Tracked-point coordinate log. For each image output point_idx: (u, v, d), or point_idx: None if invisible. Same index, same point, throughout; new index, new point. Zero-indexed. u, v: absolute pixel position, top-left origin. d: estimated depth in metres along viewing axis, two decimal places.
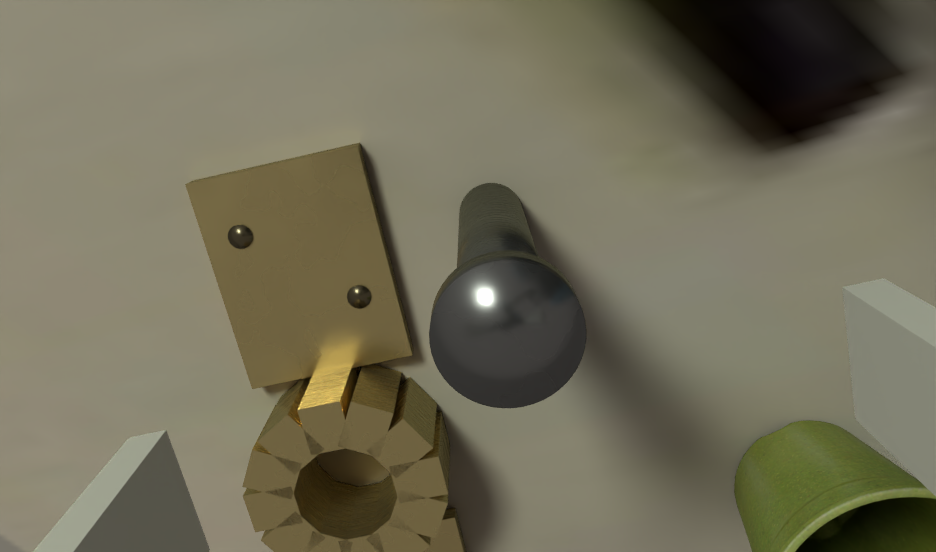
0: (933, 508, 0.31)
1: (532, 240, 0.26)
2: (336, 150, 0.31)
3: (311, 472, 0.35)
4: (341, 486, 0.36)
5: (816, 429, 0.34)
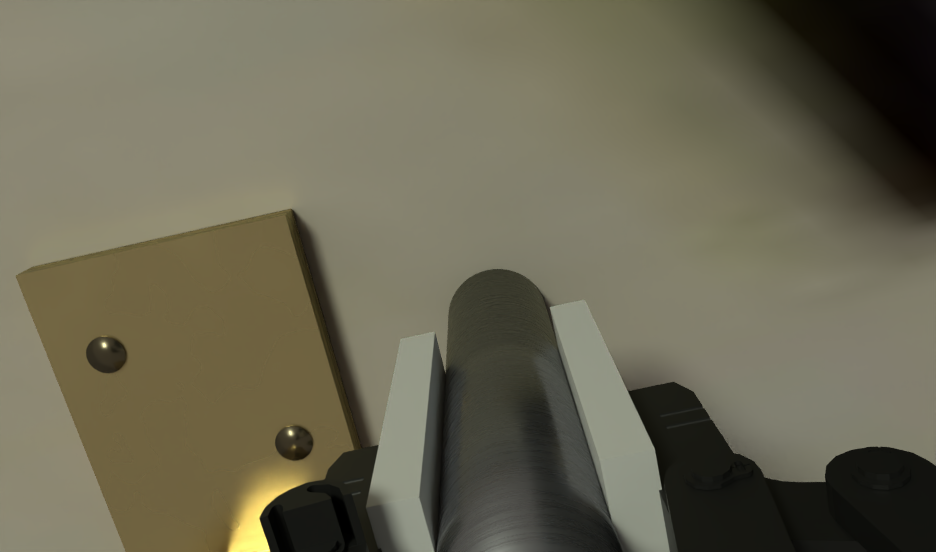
0: None
1: (576, 408, 0.15)
2: (252, 222, 0.20)
3: None
4: None
5: None
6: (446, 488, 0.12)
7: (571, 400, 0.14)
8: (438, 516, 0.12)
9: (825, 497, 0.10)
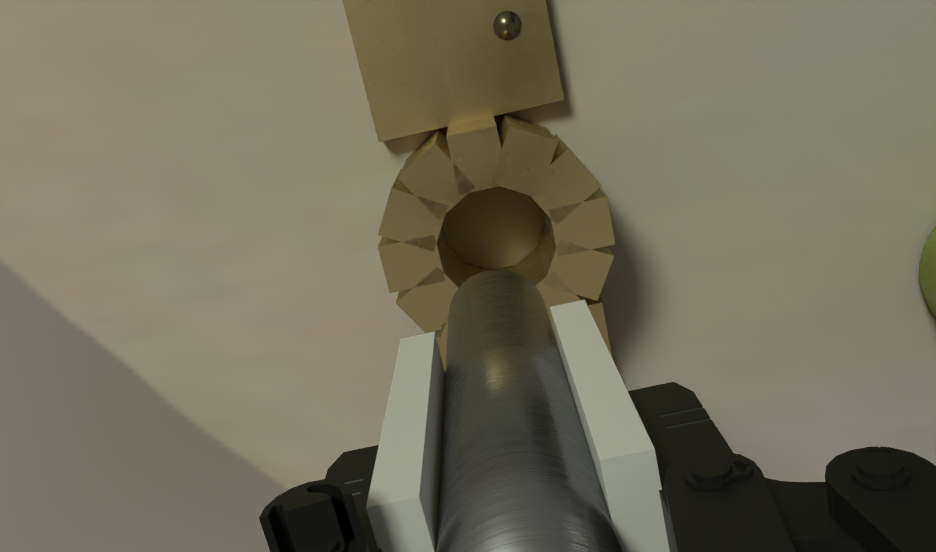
0: None
1: (576, 409, 0.15)
2: None
3: (443, 242, 0.30)
4: (472, 267, 0.32)
5: None
6: (446, 490, 0.12)
7: (571, 401, 0.14)
8: (438, 518, 0.12)
9: (825, 496, 0.10)
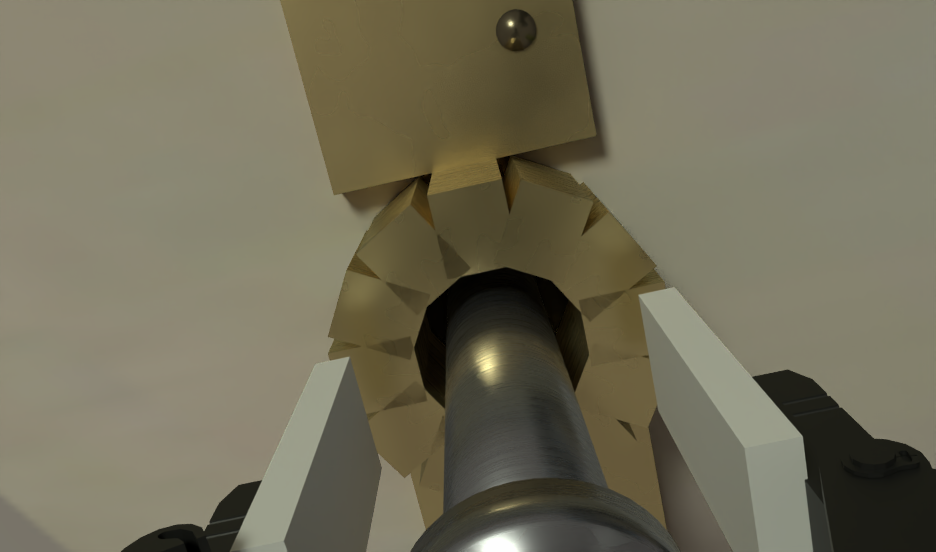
0: None
1: (567, 374, 0.16)
2: None
3: (425, 334, 0.22)
4: None
5: None
6: (451, 440, 0.13)
7: (562, 367, 0.16)
8: (444, 465, 0.13)
9: None
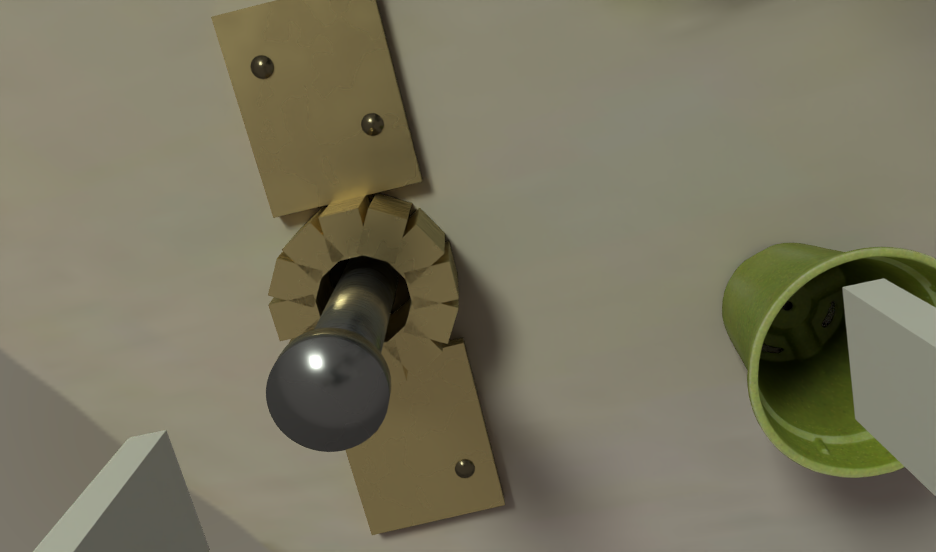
0: None
1: (382, 307, 0.32)
2: None
3: (329, 297, 0.37)
4: None
5: (795, 245, 0.37)
6: None
7: (379, 303, 0.32)
8: None
9: None
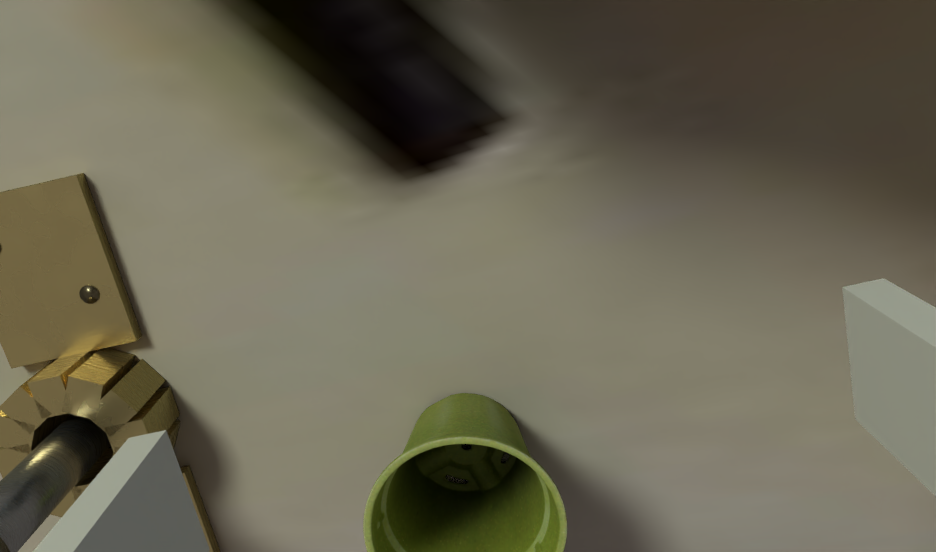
0: None
1: (64, 468, 0.38)
2: (60, 179, 0.40)
3: None
4: None
5: (462, 399, 0.43)
6: None
7: (62, 465, 0.38)
8: None
9: None
